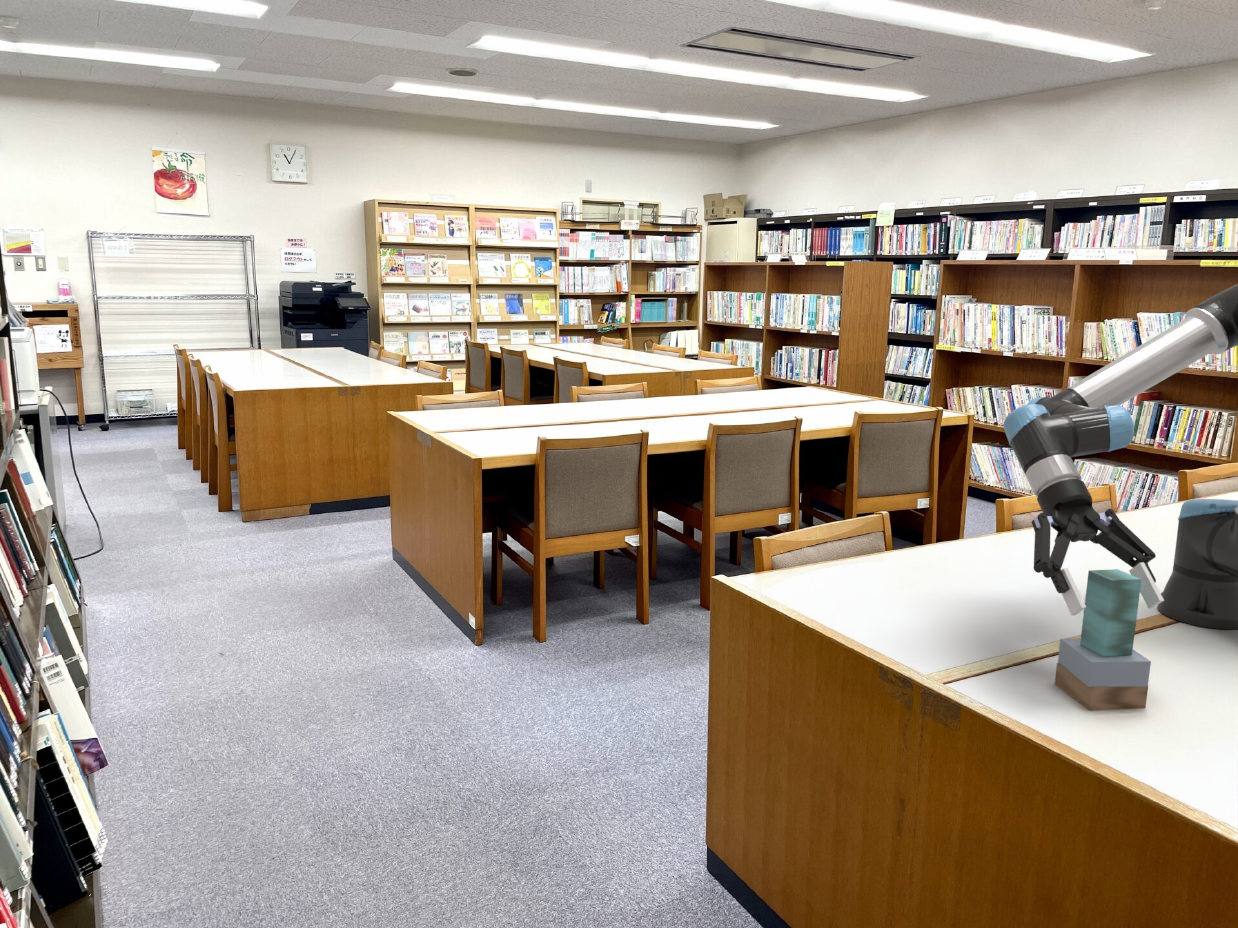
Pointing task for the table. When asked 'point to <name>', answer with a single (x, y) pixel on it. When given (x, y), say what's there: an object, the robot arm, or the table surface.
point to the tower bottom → (1100, 693)
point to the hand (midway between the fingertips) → (1118, 608)
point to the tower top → (1103, 666)
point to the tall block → (1110, 612)
